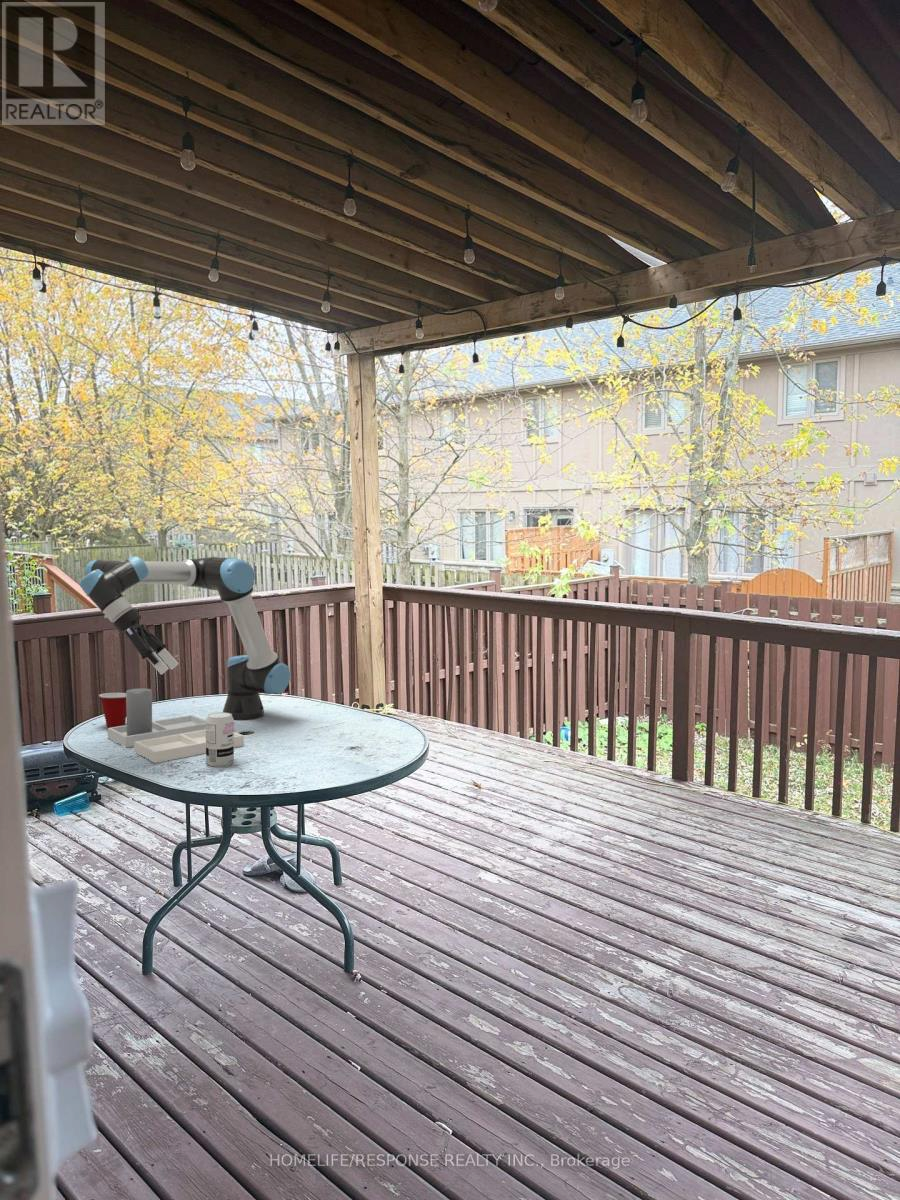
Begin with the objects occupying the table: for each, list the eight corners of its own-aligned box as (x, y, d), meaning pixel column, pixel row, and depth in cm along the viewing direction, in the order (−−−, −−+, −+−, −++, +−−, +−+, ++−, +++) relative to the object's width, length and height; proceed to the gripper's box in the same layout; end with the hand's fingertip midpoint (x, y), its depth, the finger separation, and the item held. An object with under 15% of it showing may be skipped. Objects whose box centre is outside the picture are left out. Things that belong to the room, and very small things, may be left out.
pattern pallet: (192, 724, 289) (191, 679, 287) (211, 732, 278) (211, 685, 276) (107, 738, 268) (106, 690, 267) (125, 747, 257) (124, 697, 256)
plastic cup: (138, 723, 288) (137, 691, 287) (123, 731, 277) (122, 697, 276) (109, 722, 289) (109, 689, 288) (93, 729, 278) (92, 696, 277)
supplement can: (209, 759, 247) (208, 711, 245) (236, 759, 247) (236, 711, 246) (203, 767, 238) (202, 718, 237) (231, 767, 239) (231, 718, 238)
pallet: (221, 736, 273) (221, 726, 273) (243, 745, 262) (243, 735, 262) (134, 752, 252) (134, 741, 252) (154, 763, 241) (154, 752, 241)
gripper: (124, 621, 250) (169, 672, 252) (99, 625, 226) (150, 682, 228) (143, 606, 251) (188, 657, 253) (120, 608, 226) (170, 665, 228)
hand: (170, 669), depth 240 cm, fingers open, 13 cm apart
